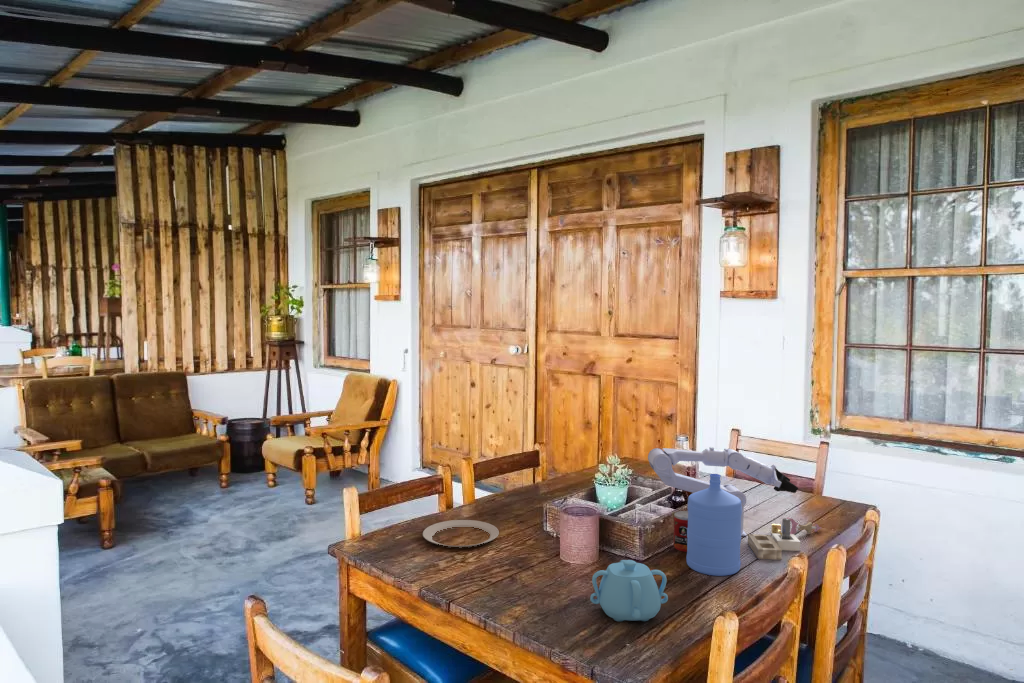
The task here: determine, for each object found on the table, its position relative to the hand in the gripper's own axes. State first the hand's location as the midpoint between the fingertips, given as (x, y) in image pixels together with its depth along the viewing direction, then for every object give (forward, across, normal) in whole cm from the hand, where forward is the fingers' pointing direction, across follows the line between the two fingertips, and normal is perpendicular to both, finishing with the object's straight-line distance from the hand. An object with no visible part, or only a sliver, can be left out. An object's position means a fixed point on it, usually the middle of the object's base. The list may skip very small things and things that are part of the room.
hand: (792, 486), depth 238 cm
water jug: (-26, -34, +26) cm, 50 cm away
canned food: (-30, -18, +30) cm, 46 cm away
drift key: (+1, -6, +16) cm, 17 cm away
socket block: (+1, -11, +16) cm, 20 cm away
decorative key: (+9, -4, +13) cm, 17 cm away
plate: (-96, -13, +61) cm, 115 cm away
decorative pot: (-53, -66, +35) cm, 92 cm away
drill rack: (-8, -20, +19) cm, 29 cm away
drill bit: (0, -15, +16) cm, 22 cm away
